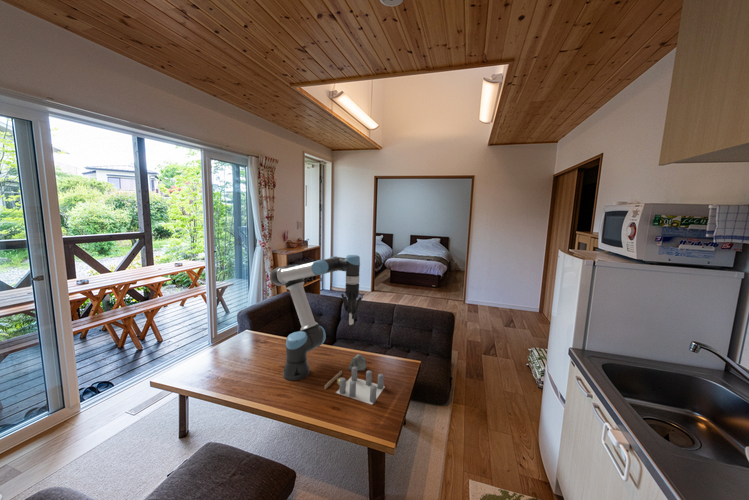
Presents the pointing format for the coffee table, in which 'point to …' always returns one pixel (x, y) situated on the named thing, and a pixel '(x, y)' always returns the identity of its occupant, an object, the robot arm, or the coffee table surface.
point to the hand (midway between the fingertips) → (351, 323)
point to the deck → (359, 386)
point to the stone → (358, 362)
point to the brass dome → (339, 381)
